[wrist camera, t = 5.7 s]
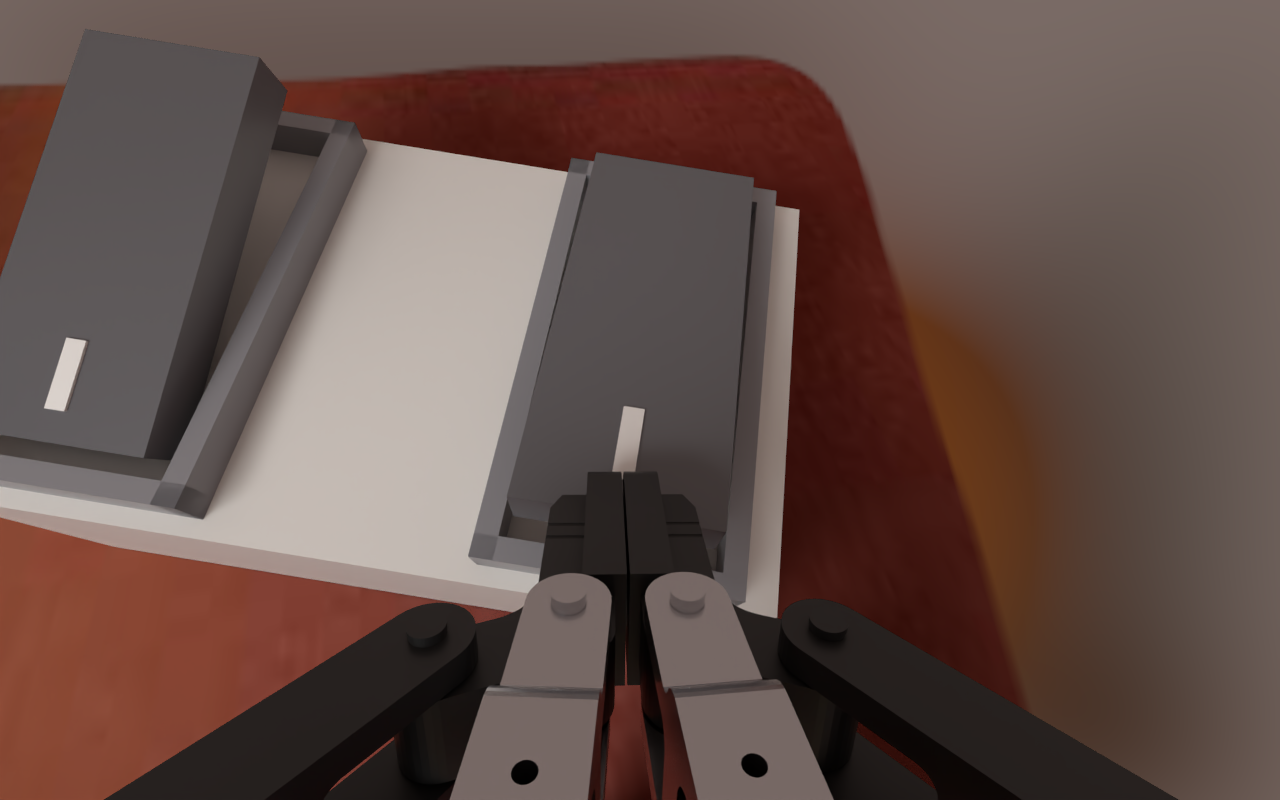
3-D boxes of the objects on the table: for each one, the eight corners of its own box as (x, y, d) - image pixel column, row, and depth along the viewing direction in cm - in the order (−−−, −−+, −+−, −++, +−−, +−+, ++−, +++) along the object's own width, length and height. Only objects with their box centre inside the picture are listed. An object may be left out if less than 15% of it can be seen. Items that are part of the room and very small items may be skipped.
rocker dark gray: (513, 516, 15) (506, 495, 13) (595, 188, 20) (596, 150, 18) (714, 549, 14) (727, 531, 13) (743, 212, 20) (754, 176, 18)
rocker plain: (6, 432, 16) (-54, 425, 15) (126, 64, 18) (83, 27, 17) (184, 461, 16) (141, 458, 15) (287, 91, 18) (257, 55, 17)
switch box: (-70, 516, 23) (-449, 428, 15) (118, 219, 29) (-78, 34, 21) (719, 645, 23) (789, 631, 15) (748, 321, 29) (810, 177, 20)
